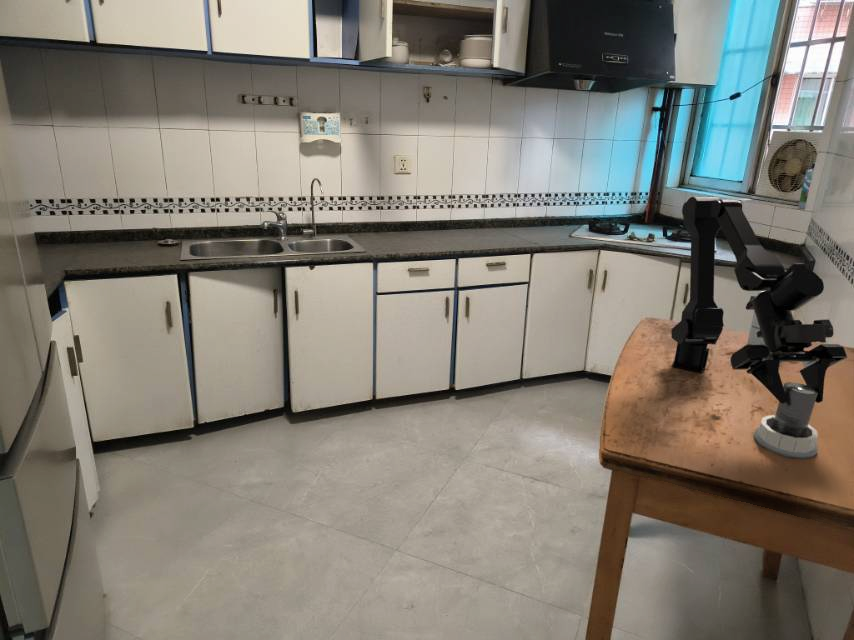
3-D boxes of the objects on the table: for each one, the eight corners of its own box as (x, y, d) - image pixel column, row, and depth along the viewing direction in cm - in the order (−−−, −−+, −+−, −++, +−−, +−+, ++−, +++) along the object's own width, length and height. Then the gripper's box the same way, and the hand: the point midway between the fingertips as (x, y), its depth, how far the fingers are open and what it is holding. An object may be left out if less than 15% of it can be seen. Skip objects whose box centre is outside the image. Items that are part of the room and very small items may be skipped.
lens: (775, 443, 106) (790, 391, 102) (766, 429, 110) (780, 379, 107) (806, 448, 105) (823, 396, 101) (796, 434, 109) (811, 384, 106)
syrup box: (767, 351, 150) (780, 296, 145) (745, 343, 155) (757, 290, 150) (781, 347, 152) (794, 294, 147) (759, 340, 157) (772, 287, 152)
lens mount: (752, 447, 106) (756, 431, 105) (755, 424, 114) (758, 408, 113) (818, 464, 101) (822, 448, 100) (815, 438, 109) (820, 423, 108)
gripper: (753, 302, 102) (780, 388, 95) (854, 302, 103) (887, 387, 97) (719, 328, 112) (741, 408, 105) (811, 328, 114) (839, 406, 107)
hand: (801, 402), depth 103 cm, fingers open, 6 cm apart
